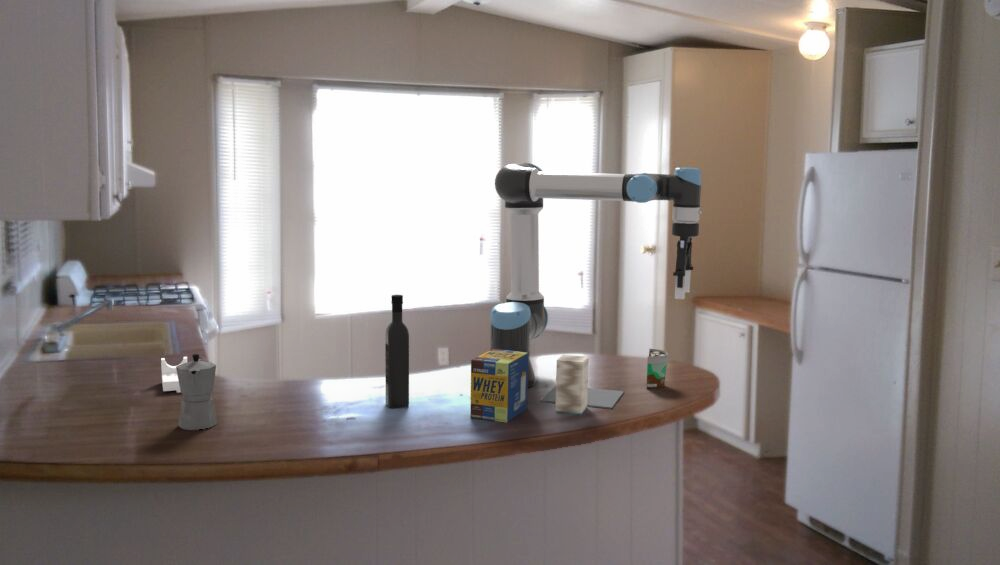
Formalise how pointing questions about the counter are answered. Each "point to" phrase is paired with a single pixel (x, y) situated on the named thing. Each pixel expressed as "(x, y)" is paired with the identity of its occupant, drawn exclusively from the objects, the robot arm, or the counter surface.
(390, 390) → the wine bottle
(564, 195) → the robot arm
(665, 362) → the food container
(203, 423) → the coffeepot
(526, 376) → the protein box
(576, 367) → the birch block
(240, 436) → the counter surface
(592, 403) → the mat
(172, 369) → the bracket
